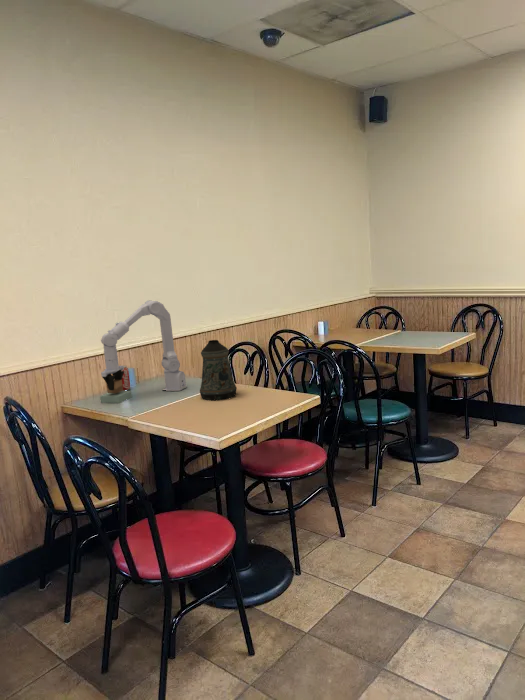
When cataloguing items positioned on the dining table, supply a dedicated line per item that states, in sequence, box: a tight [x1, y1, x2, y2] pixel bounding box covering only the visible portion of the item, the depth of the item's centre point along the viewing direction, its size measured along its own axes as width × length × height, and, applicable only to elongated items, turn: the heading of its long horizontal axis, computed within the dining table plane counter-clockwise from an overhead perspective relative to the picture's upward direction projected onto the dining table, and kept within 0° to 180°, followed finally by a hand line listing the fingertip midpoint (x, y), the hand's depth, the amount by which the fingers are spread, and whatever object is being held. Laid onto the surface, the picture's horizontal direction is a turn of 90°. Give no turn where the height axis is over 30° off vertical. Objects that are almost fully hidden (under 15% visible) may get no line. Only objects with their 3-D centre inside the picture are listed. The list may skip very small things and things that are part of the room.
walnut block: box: [105, 380, 123, 393], centre depth 255 cm, size 5×5×5 cm
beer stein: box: [199, 339, 238, 402], centre depth 248 cm, size 16×19×25 cm
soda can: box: [121, 364, 131, 391], centre depth 274 cm, size 7×7×12 cm
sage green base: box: [99, 390, 133, 404], centre depth 256 cm, size 10×10×3 cm
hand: (115, 388), depth 255 cm, fingers closed on walnut block, 5 cm apart
